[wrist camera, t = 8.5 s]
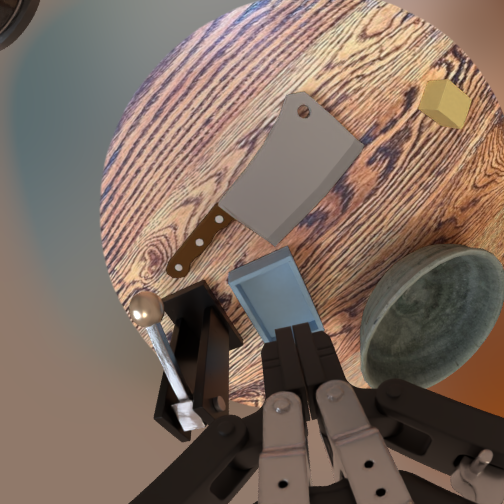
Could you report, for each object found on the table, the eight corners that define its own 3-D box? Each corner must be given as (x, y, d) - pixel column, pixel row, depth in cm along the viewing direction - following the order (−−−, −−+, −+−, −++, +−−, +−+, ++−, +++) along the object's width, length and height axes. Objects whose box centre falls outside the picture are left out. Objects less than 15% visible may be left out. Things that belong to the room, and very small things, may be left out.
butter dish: (228, 272, 35) (228, 283, 32) (287, 245, 34) (291, 255, 31) (268, 339, 39) (270, 352, 37) (320, 318, 38) (324, 330, 36)
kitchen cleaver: (219, 309, 36) (147, 261, 32) (219, 304, 36) (149, 257, 33) (370, 150, 29) (302, 80, 26) (365, 149, 30) (299, 81, 26)
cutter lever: (135, 297, 28) (117, 300, 25) (162, 285, 27) (145, 286, 24) (190, 420, 26) (178, 434, 23) (219, 412, 26) (209, 428, 22)
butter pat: (417, 108, 28) (437, 109, 24) (427, 80, 26) (448, 78, 23) (441, 126, 28) (462, 129, 25) (451, 99, 27) (472, 99, 23)
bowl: (401, 183, 31) (453, 210, 22) (484, 260, 36) (525, 293, 27) (304, 323, 38) (322, 380, 29) (405, 362, 43) (430, 406, 34)
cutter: (161, 298, 36) (127, 401, 21) (204, 279, 35) (187, 385, 20) (203, 354, 40) (193, 455, 25) (243, 339, 39) (248, 444, 24)
